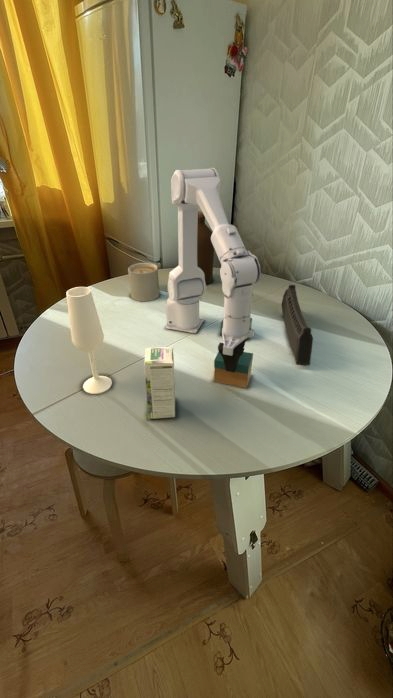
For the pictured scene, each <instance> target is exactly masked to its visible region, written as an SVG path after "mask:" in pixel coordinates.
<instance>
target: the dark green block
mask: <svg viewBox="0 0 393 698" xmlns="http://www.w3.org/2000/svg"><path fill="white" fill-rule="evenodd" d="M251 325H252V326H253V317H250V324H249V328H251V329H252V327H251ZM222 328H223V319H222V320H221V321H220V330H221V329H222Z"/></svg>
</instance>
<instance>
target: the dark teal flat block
mask: <svg viewBox="0 0 393 698" xmlns="http://www.w3.org/2000/svg"><path fill="white" fill-rule="evenodd" d="M253 358H254V353H252V352H247V351H244V352H243V354H242V355H241V356H240V358H239V360H238V364H237V368H236V370H235V372H239V373H245V374H248V373H249V370H250V367H251V364H252V365H253ZM213 368H219V369H224V370H226V369H225V365H224V361H223V358H222V356H221V354H220V353H219V351H218V352H217V354H216V355H215V358H214V360H213ZM251 368H252V367H251Z"/></svg>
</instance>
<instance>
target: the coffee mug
mask: <svg viewBox="0 0 393 698" xmlns="http://www.w3.org/2000/svg"><path fill="white" fill-rule="evenodd" d="M127 273H128V281H129V289H130V297H131V299H133V300H134V301H137V302H151V301H154V300H156V299H157V298H159V296H160V282H159V281H160V280H159V269H158V265H157V264H154V263H152V262H151V263H150V262H138V263H134V264H131V265H129V266H128V267H127Z"/></svg>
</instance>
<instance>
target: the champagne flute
mask: <svg viewBox="0 0 393 698" xmlns="http://www.w3.org/2000/svg"><path fill="white" fill-rule="evenodd" d="M65 293H66V294H65V295H66V302H67V312H68V319H69V328H70V329H69V330H70V335H71V336H70V337H71V343H72V344H73V346H74V347H76V349H79V350H81V351H82V352H85V353H88V357H89V362H90V368H91V373H92V377H90V378H88V379H87V380H86V381H84V383H83V385H82V389H83V390H84V391H85V392H86V393H88V394H91V395H94V394H95V395H97V394H102V393H105V392H106V391H109V389H110V388H111V386H112V385H113V380H112V379H111V377H108V376H105V375H99V371H98V365H97V362H96V357H95V356H96V355H95V351H96V350H97V349H98V348H99V347H100V346H101V345H102V343H103V342H104V338H105V334H104V331H103V328H102V325H101V321H100V317H99V314H98V310H97V306H96V303H95V300H94V297H93V293H92V291H91V288H89V287H87V286H76V287H72V288H70V289H68V290H66V292H65Z"/></svg>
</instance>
